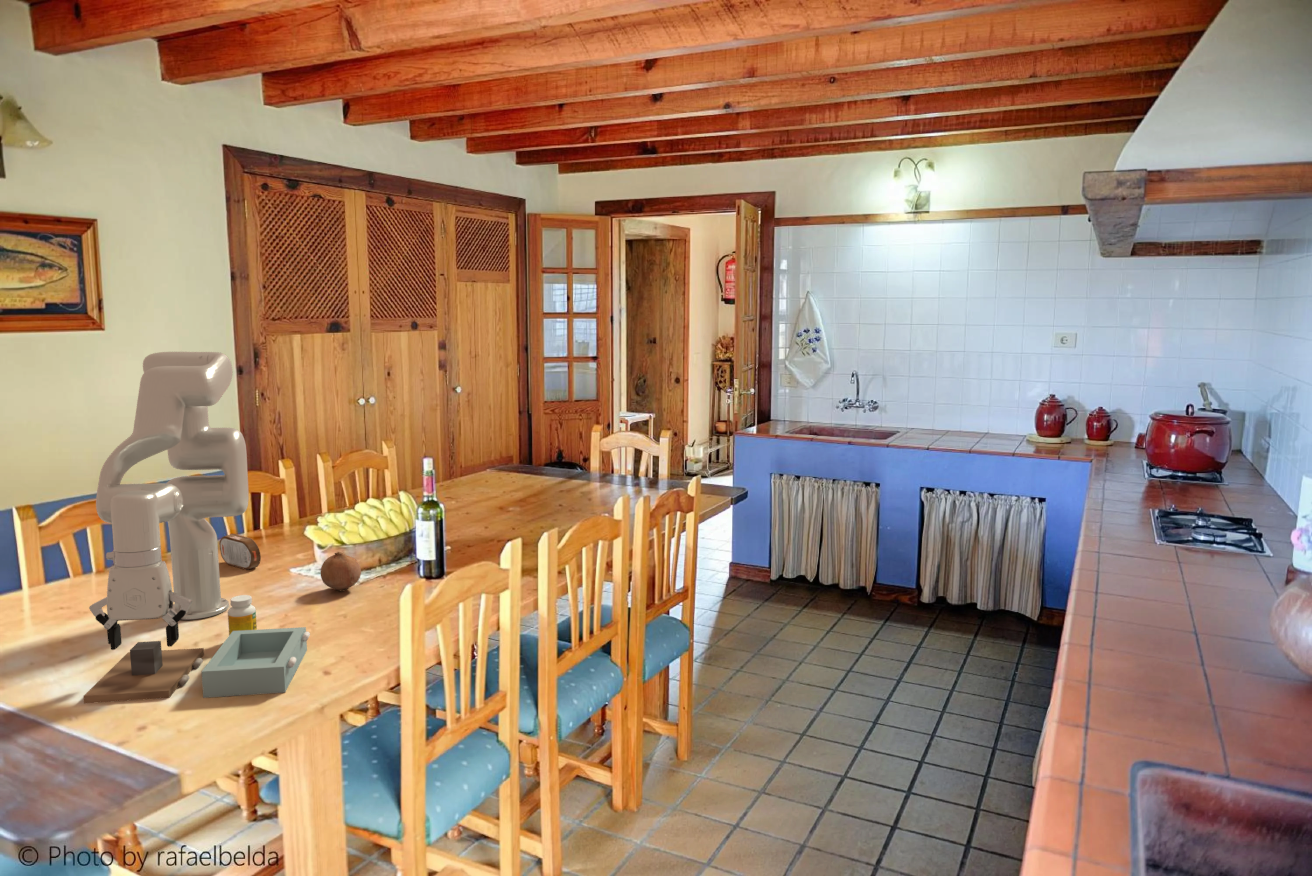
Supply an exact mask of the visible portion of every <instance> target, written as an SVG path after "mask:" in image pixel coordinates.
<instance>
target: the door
mask: <svg viewBox="0 0 1312 876" xmlns="http://www.w3.org/2000/svg"><path fill="white" fill-rule="evenodd" d="M204 655H205V650H204V647H199V648H196V647H195V648H186V649H185V648H182V649H181V648H180V649H165V650H162V641H161V640H153V641H151V640H150V641H138V642H136V643H135V644H134V645H133V647H132V648H130V649H129V652H127V653H126V654H125V655H123V657H122V658H121V659H120V660H119V661H117V662H116V664H115V665H114V666H113V667H112V668H110V669H109V670H108V671H107V672H106V673H105V674H104V675H103V676H102V677H101V678H100V679H99V680H98V681H97V682H96V683H95V684H94V685H93V686H92V687H91V688H90V689H89V690H88V691H87V692H86V693H85V694H84V695H83V696H82V697H83V704H94V702H98V703H110V702H111V701H114V702H125V701H126V702H127V700H129V701H142V700H143V699H145V700H157V699H156V698H160V699H170V698H171V696H173V694H174V693H175V691H177V689H178V688H179V687H184V686H185V685H186V683H187V682H188V681H190V675H189V674H190V673H191V672H192V670H193V669H198V668H199V667H200V666H201V664H203V662H204V660H203V656H204Z"/></svg>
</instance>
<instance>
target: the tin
mask: <svg viewBox="0 0 1312 876" xmlns="http://www.w3.org/2000/svg"><path fill="white" fill-rule="evenodd" d="M219 551H220V556H221V558H222V560H223V561H224V562H225V563H226V565H228V566H233V567H236V568H240V569H242V570H248V571H249V570H252V569H254V568H258V567H259V566H260V564H261V551H260V548H259V546H258V544H257V543H256V541H255V540H254V539H253V538H252V537H247V536H244V535H241V534H240V535H239V534H237V533H230V534H227V535H224V536H223V537H221V538H220V540H219Z"/></svg>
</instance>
